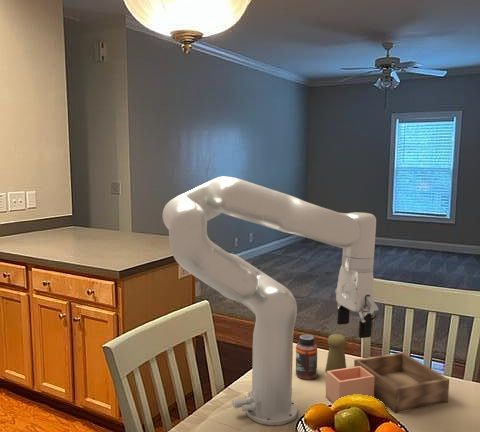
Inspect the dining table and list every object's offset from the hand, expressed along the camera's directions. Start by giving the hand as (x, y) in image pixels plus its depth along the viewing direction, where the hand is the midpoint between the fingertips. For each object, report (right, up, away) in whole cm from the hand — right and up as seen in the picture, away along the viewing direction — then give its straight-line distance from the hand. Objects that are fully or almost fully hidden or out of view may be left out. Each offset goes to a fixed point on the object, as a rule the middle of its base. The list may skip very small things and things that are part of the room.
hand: (353, 330), depth 121 cm
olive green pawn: (-1, -16, +18) cm, 24 cm away
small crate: (-1, -18, +2) cm, 18 cm away
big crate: (+14, -18, +7) cm, 23 cm away
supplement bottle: (-10, -17, +16) cm, 25 cm away
